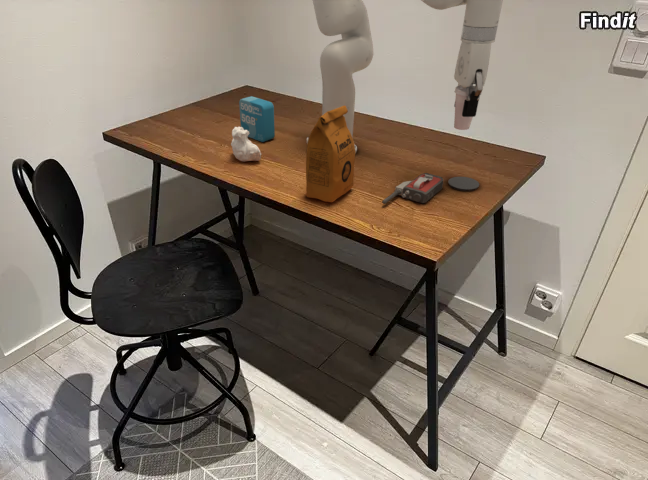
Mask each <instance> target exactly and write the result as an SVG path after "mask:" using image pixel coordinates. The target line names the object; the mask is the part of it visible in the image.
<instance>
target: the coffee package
mask: <svg viewBox="0 0 648 480" xmlns="http://www.w3.org/2000/svg"><path fill="white" fill-rule="evenodd" d="M347 112H348V110H347V108H346V106H341V107H339V108H336V109H334V110H331V111H327V112H326V113H325V114H323V115H322V114H321V115H320V116H319V117H318V119H317V121H316V123H315V125H314V127H313V128H312V130H311V131H310V134H309V136H308V137H309V139H308V144H306V145H307V146H306V157H305V159H306V160H305V181H306V182H305V183H306V184H305V185H306V188H305V193H306V194H305V195H306V197H307V198H308V199H317V200H320V201H322V202H326V203H333V202H335V201H336V200H337V199H339V198H341V197H342V196H344V195H346V193H348V192H349V191H350V190H351V189H352V188H353V187H354V183H355V182H354V180H355V162H356V153H355V145H356V144H355V142H354V137H353V138H352V136H351V133H350V131H349V129H348V128H347V124H346V121H345V117H344V116H343V115H344V114H346V113H347ZM354 144H355V145H354Z"/></svg>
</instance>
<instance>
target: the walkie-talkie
mask: <svg viewBox="0 0 648 480" xmlns="http://www.w3.org/2000/svg"><path fill="white" fill-rule="evenodd" d="M444 181H445V179H444V178H443V177H442V176H440V175H437V174H432V173H428V172H424V173H421V174H420V175H418V176H417V177H415V178H414V179H413V180H407V181H402V182H401V183H400V184H398V185H396V186H395V187H394V192H392V193H391V194H390V195H388V196H387V197H385V198H384V199H383V200H382V201H381V203H382V204H383V205H386V204H387V203H389V202H390V201H391V200H392V199H394V198H395V197H397V196H401V197H402V198H403V199H406V200H409V201H413V202H416V203H420V204H425V203H427V202H428V201H429V200H431V199H432V198H433V197H434V196H435V195H436V194H438V193H439V192H440V191H442V189H443V187H444V183H445V182H444Z"/></svg>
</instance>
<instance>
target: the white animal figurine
mask: <svg viewBox="0 0 648 480" xmlns="http://www.w3.org/2000/svg"><path fill="white" fill-rule="evenodd" d="M249 134H250V133H249V131H247V130H244V129H243V127H241V126H234V127H233V128H232V130H231V136H232V140H231V143H230V146H231V148H232V149H231V151H232V154H233V156H234V157H235V158H236V159H237V160H238V161H240V162H244V163H245V162H252V161H253V162H259V161H261V159H262V152H261V150H260V148H259V146H258V145H257V144H256V143H255V144H254V143H253V142H252V141H251V140H250V139H249V137H248V135H249Z"/></svg>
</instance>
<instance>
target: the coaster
mask: <svg viewBox="0 0 648 480" xmlns="http://www.w3.org/2000/svg"><path fill="white" fill-rule="evenodd" d="M447 185H448V186H449V188H451V189H452V190H455V191H459V192H473V191H476V190H479V188H480V183H479V181H478V180H476V179H474V178H471V177H468V176H453V177H451V178H449V179H448V180H447Z"/></svg>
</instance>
